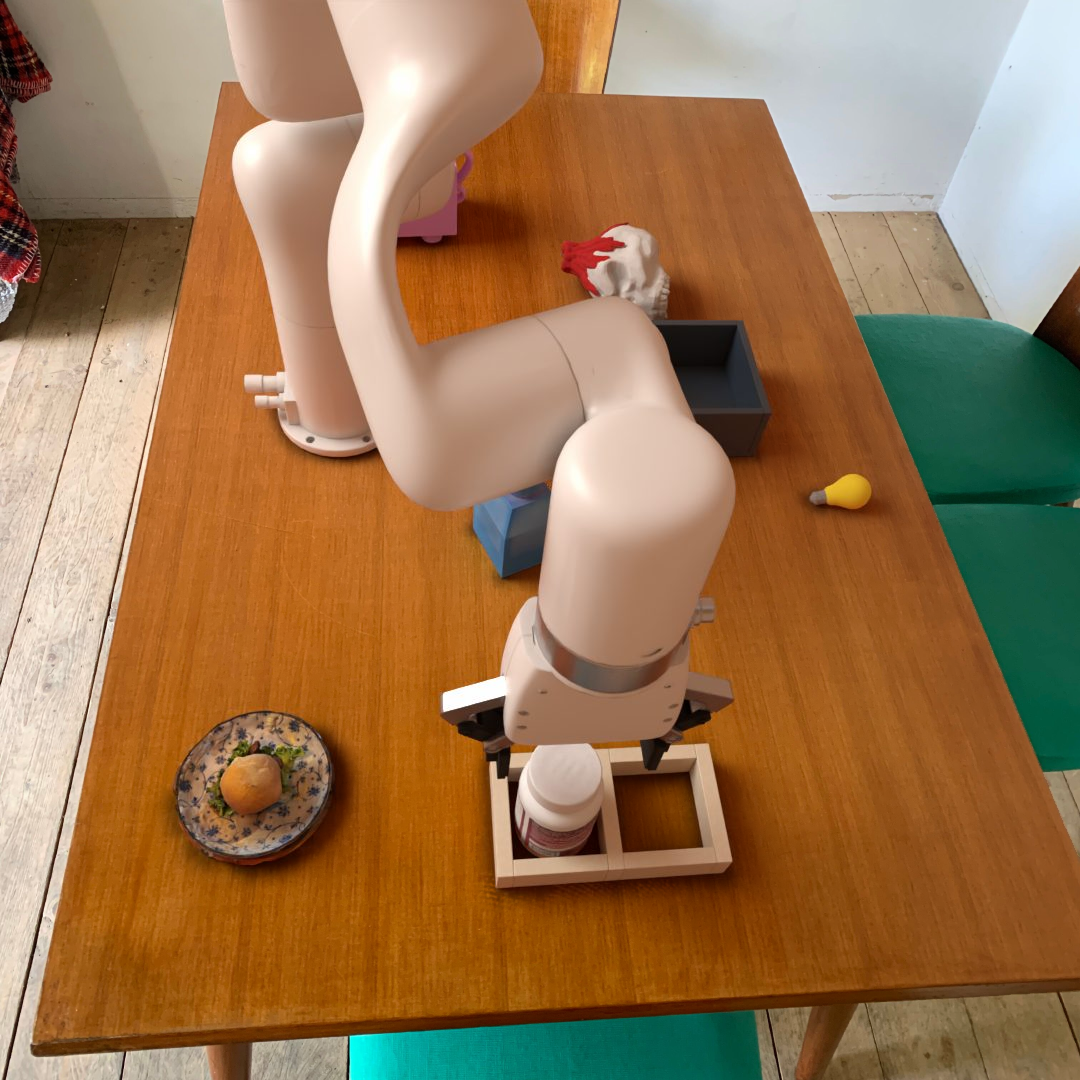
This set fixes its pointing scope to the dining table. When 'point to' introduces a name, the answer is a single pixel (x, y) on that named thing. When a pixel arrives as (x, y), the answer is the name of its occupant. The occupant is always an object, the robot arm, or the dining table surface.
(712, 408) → the dark grey open box
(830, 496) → the light bulb
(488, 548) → the perfume bottle
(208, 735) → the burger
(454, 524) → the dining table surface
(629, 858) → the frame
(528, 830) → the pill bottle
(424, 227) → the teapot
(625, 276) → the candle
